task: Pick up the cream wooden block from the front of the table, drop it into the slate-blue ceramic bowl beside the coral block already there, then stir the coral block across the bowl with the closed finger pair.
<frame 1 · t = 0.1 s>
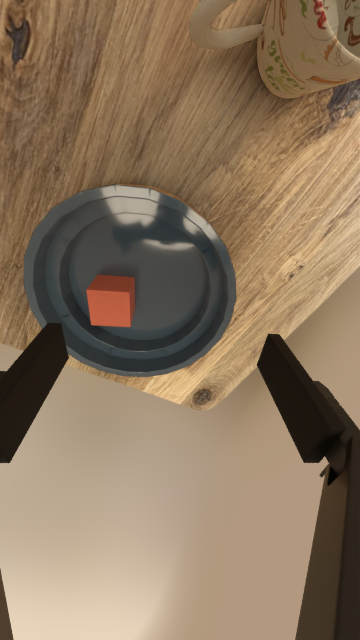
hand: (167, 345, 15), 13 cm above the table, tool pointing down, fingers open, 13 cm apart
coral block: (117, 292, 26), point 1 cm above the table, touching bowl
mug: (266, 52, 17), on the table
bowl: (139, 283, 26), on the table
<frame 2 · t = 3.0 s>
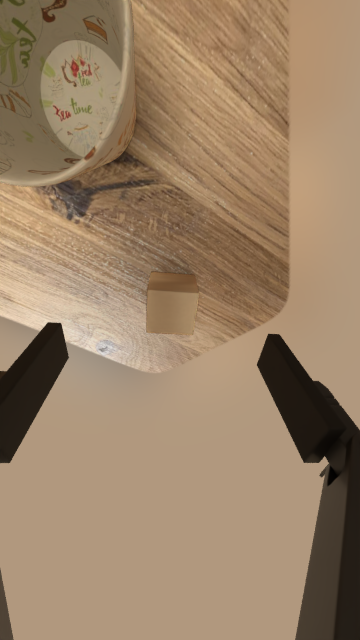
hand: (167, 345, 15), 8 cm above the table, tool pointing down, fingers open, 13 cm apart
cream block: (171, 292, 21), on the table
mug: (75, 61, 13), on the table
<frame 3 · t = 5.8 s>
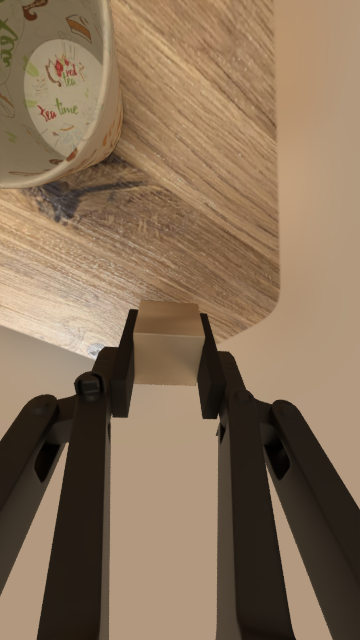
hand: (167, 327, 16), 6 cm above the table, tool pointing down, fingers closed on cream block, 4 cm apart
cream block: (167, 325, 17), point 5 cm above the table, touching gripper
mug: (59, 60, 13), on the table
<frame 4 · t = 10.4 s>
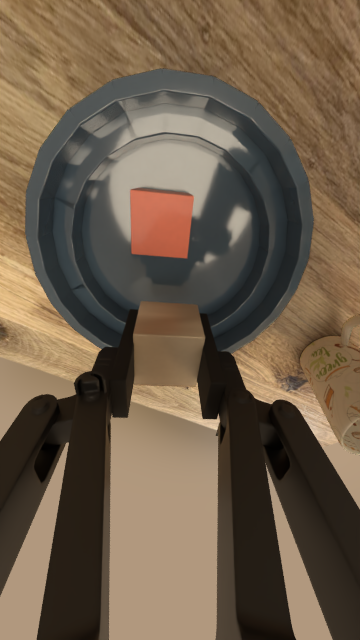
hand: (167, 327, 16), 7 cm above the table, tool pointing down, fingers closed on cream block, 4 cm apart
coral block: (162, 218, 18), point 1 cm above the table, touching bowl
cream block: (167, 326, 17), point 7 cm above the table, touching gripper
mug: (325, 340, 27), on the table
bowl: (172, 248, 20), on the table
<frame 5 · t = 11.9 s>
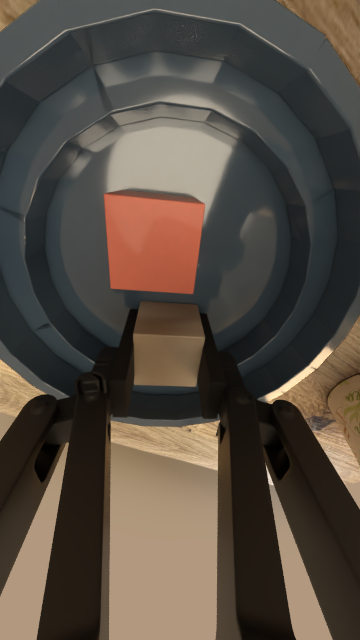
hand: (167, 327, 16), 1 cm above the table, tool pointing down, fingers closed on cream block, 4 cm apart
coral block: (157, 232, 13), point 1 cm above the table, touching bowl
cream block: (167, 326, 17), point 1 cm above the table, touching gripper
bowl: (171, 270, 15), on the table
when the fingers open (3 cm above the table, at t = 15.9 s): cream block stays where it is, resting on bowl.
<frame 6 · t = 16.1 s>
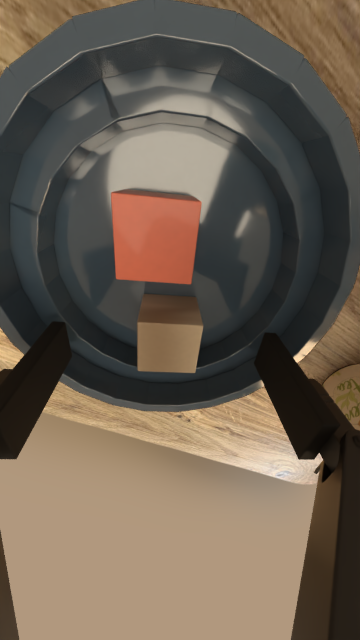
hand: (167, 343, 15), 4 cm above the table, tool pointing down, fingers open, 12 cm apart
coral block: (158, 228, 14), point 1 cm above the table, touching bowl
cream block: (168, 317, 18), point 1 cm above the table, touching bowl
mug: (351, 368, 23), on the table
bowl: (171, 265, 16), on the table
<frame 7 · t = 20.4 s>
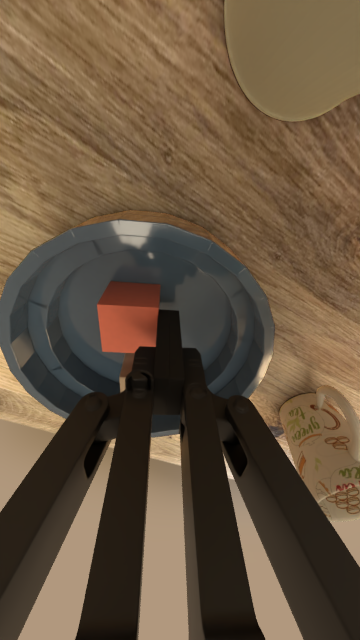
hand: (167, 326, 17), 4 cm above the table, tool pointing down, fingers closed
coral block: (135, 304, 19), point 1 cm above the table, touching gripper
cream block: (147, 362, 23), point 1 cm above the table, touching bowl
mug: (303, 396, 28), on the table
can: (312, 4, 11), on the table
bowl: (147, 325, 21), on the table
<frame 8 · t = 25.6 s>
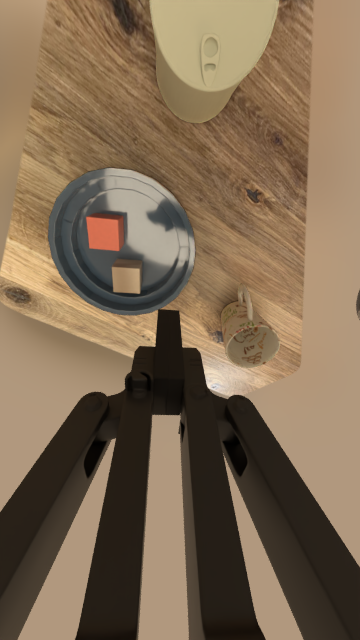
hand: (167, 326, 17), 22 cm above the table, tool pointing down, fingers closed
coral block: (109, 229, 33), point 1 cm above the table, touching bowl
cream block: (130, 271, 37), point 1 cm above the table, touching bowl
mug: (235, 305, 42), on the table
can: (196, 70, 26), on the table
bowl: (129, 245, 35), on the table
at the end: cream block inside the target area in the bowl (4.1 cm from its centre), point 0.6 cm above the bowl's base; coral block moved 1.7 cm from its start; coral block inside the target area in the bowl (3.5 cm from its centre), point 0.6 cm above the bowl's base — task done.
